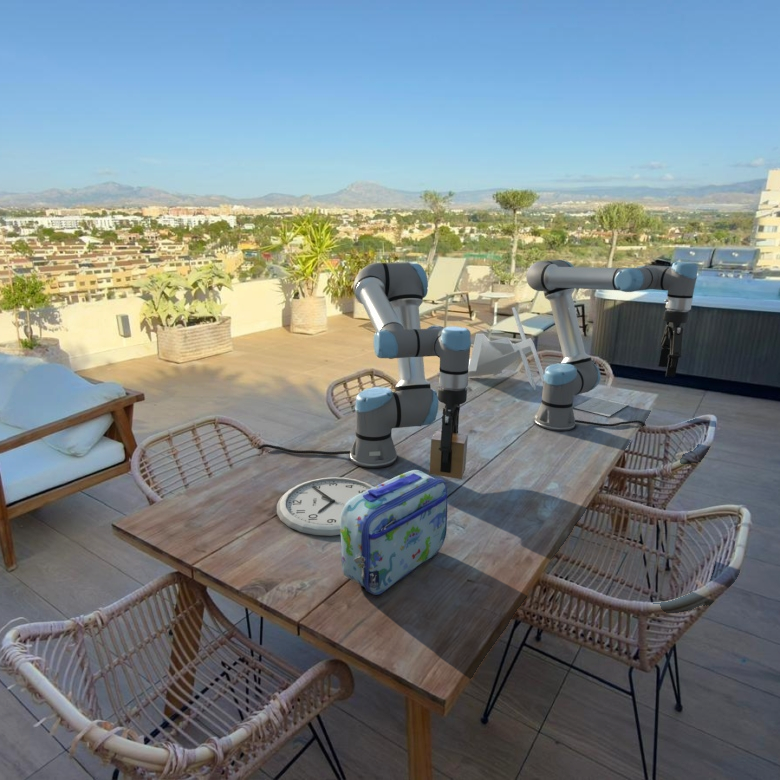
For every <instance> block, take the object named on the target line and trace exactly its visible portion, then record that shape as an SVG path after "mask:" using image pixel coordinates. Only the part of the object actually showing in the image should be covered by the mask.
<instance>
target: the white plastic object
mask: <svg viewBox="0 0 780 780" xmlns="http://www.w3.org/2000/svg"><path fill="white" fill-rule="evenodd" d="M511 310H512V314H513V317H514V320H515V322H516V326H517V328H518V333H519V335H520V338H521V341H519V342H516V343H513V342H512V341H511V339H510V338H509V337H508V336H507V337H503V338H498V339H493V340H490V339H489V338H488V336H486V334H485V333H475V337H474V342H473V346H472V351H471V354H470V355H471V356H470V358H469V369H468V372H469V374H468V378H470V377H471V378H472V377H481V376H489V375H493V376H497V375H500V374H502V373H503V371H504V370H505V369H507V367H509V366H510V365H512V364H513V363H515V362H516V361H517V360H519V359H520V358H521V361H522V364H523V367H524V370H525V373H526V377H527V379H528V382H529V384H530V386H531V387H532V389H534V391H536V384H535V380H534V377H533V373H532V372H531V371H532V370H531V368H530V365H529V362H528V358H527V354H529V353H532V356H533V357H534V358H533V359H534V362H535V365H536V368H537V371H538V374H539V377H540V381H541V382H542V383H543V382H544V374H545V371H544V369H543V366H542V364H541V363H542V362H541V360H540V356H539V355H538V351H537V349H536V346H535V345H536V344H535V343H534V341H533V339H532V338H531V337H529V338H527V337H526V334H525V331H524V327H523V325H522V322H521V318H520V315H519V313H518V311H517V309H516V307H515V306H513V307H511Z"/></svg>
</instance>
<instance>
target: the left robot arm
mask: <svg viewBox="0 0 780 780" xmlns="http://www.w3.org/2000/svg"><path fill="white" fill-rule="evenodd" d="M428 287H429V282H428V276H427V273H426V270H425V268H424V267H423V266H422V265H421V264H419V262H418V263H417V262H409V261H405V262H373V263H370V264H368V265H366V266H364V267H363V268H362V269H361V270H360V271H359V272H358V273H357V274H356V276H355V278H354V281H353V294H354V297H355V298H356V300H357V301H358V302H359V304H361V305H362V306H363V308H364V310H365V312H366V314H367V316H368V319H369V320H370V322H371V325H372V327H373V329H374V332H375V333H374V335H373V349H374V354H375V356H376V358H379V359H389V360H393V359H397V360H396V361H397V369H398V370H397V373H398V383H396V385H395V386H394V390H395V391H393V390H392V389H391V388H390V387H386V386H383V387H382V386H374V387H370V388H365V389H363V390H362V391H360V392H359V393H358V394H357V395H356V397H355V406H354V411H355V437H354V441H353V443H352V447H351V449H350V450H338V451H326V450H325V451H324V450H300V449H289V448H286V447H283V446H278V445H273V444H267V443H263V444H260V445H259V446H258V447H257V450H261V449H263V448H268V449H269V448H270V449H273V450H278V451H279V450H280V451H283V452H287V453H290V454H291V453H292V454H315V455H331V456H335V455H337V456H338V455H349V460H350V462H351V463H352V464H353V465H355V466H357V467H361V468H366V469H381V468H386V467H389V466H392V465H393V464H394V463H396V462H397V459H398V458H397V457H398V455H397V450H396V447H395V443H394V441H393V438H392V432H393V431H392V430H393V429H401V428H410V427H411V428H413V427H423V426H429V425H431V424H433V423H434V422H435V421H436V418H437V415H438V411H439V402H440V403H442V404H444V407H443V408H442V415H441V431H442V432H441V446H440V448H439V450H440V451H441V467H440V472H446V473H450V472H451V459H452V449H451V446H452V437H453V433H459V424H460V423H459V422H460V411H461V405H463V404H465V403H466V402H467V398H468V396H467V394H468V389H467V387H468V386H469V377H468V374H469V372H468V369H469V359H470V358H471V356H470V355H471V347H472V339H471V338H472V337H471V335H472V333H471V331H470V329H468V328H466V327H462V326H446V327H444V326H442V325H430V326H428V327H427V328H421V327H422V326H421V317H420V306H421V305H422V304H423V302H424V298H426V297H427V295H428ZM425 357H438V359H439V372H437V374H436V376H437V377H439V378H438V385H439V386H438V389H437V390H435V389H433V388H432V387H431V383H430V382H429V381H428V380H427V379H426V372H425V361H424V358H425Z"/></svg>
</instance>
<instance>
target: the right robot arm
mask: <svg viewBox="0 0 780 780" xmlns="http://www.w3.org/2000/svg"><path fill="white" fill-rule="evenodd" d="M698 268H699V265H698V264H697V263H696V262H688V261H687V262H684V261H675V262H673V263H672V265H671V267H662V266H652V265H639V266H637V267H599V266H598V267H595V266H574V264H572V263H571V262H569V261H567V260H563V259H555V260H554V259H553V260H539V261H536V262H534V263H532V264H531V265H530V267H529V268H528V270H527V272H526V276H525V277H526V283H527V284H528V286H529V287H530V289H532V290H534V291H536V292H537V291H538V292H543V295H544V298H545V299H546V300H547V301H549V303H550V309H551V312H552V316H553V321H554V325H555V329H556V333H557V337H558V338H557V339H558V342H559V346H560V350H561V354H562V360H561V361H560V362H559V363H552V364H550V365H548V366H546V367H545V370H544V382H542V394H541V402H540V405H539V407H538V410H537V411H536V413H535V415H534V424H535V425H536V426H537V427H539V428H542V429H544V430H549V431H556V432H567V431H572V430H574V429H575V428H576V423H577V424H586V425H592V426H597V427H598V426H599V427H617V426H620V425H630V424H640V425H642V426H643V427H646V426H647V425H646V423H645V422H644V421H641V420H636V419H633V420H628V421H619V422H615V423H601V422H593V421H587V420H578V419H576V418H575V417H576V416H575V413H574V407H573V405H574V398H575V396H577V395H581V394H586V393H589V392H591V391H592V390H594V389H596V388H597V386H599V384H600V380H601V371H600V368H599V366H598V365H596V364H595V363H594V362H593V361H592V357H591V355H589V354H588V353H586V349H585V345H584V340H583V337H582V332H581V327H580V324H579V319H578V316H577V311H576V307H575V304H574V298H573V294H574V292H575V289H578V290H580V289H581V290H597V291H600V290H601V291H602V290H603V291H618V292H622V293H623V292H624V293H633V292H638V291H647V290H654V291H655V290H656V291H666V292H667V297H666V299H664V303H665V307H664V308H665V310H664V311H663V317H662V320H663V321H664V322H665V327H664V331H663V335H662V337H661V341H660V353H659V359H658V365H657V367H660V368H666V371H665V377H670V378H675V377H676V375H677V370H678V369H677V368H678V364H679V358H681V357H682V345H683V333H684V327H681V325H682V324H688V322H689V319H690V314H691V312H690V310H692V305H693V299H694V298H693V297H694V291H695V288H696V287H695V286H696V282H697V279H698Z"/></svg>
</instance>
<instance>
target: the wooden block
mask: <svg viewBox="0 0 780 780" xmlns="http://www.w3.org/2000/svg"><path fill="white" fill-rule="evenodd" d="M441 432H442V430H435V431H434V433H433V435H432V437H431V438H430V457H429V474H428V475H430V476H438V477H444V478H451V479H458V480H462V479H463V477H464V475H465V471H466V467H467V466H466V464H467V453H468V452H467V451H468V439H469V434H465V433H460V432H458V433H453V437H452V446H451V449H452V459H451V472H450V473H446V472H440V467H441V451H440V450H439V448H440V446H441Z"/></svg>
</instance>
